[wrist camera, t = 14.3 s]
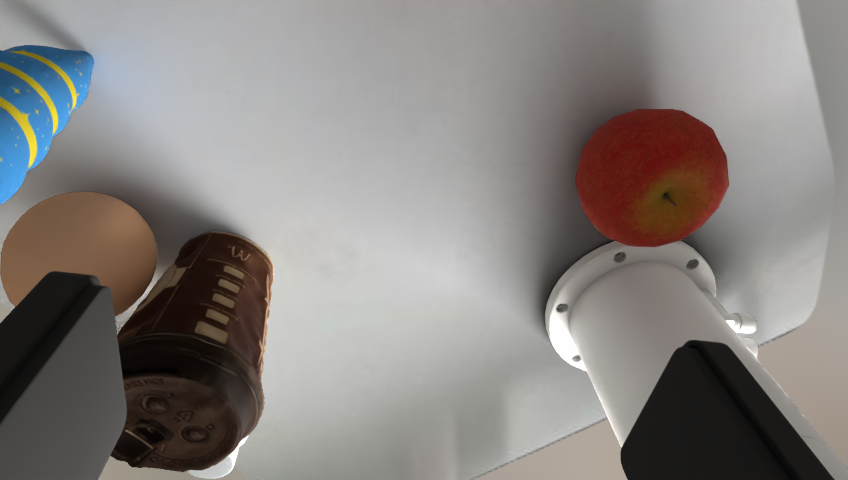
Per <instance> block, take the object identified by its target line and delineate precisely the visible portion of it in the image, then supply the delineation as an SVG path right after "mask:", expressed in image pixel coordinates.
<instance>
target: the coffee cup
mask: <svg viewBox="0 0 848 480" xmlns="http://www.w3.org/2000/svg"><path fill="white" fill-rule="evenodd" d="M273 277H274V266H273V264H272V261H271V259H270V258H269V256H268V255H267V253H265V252H264V251H263V250H262V249H261V248H259V247H258V246H257V245H255V244H254V243H253V242H251V241H249V240H248V239H246V238H244V237H241V236H239V235H236V234H231V233H227V232H217V231H212V232H208V233H205V234H202V235H199V236H197V237H195V238H193V239H191V240H189V241H188V242H187V243H186V244H185V245H184V246H183V247H182V248H181V250H180V252H179V255H178V257H177V259H176V260H175V263H174V264H173V265H171V266H170V267H169V268H168V269H167V270H166V271H165V273H164V274H163V275H162V277H161V278H160V279H159V280H158V281H157V283H156V284H155V286H154V287H153V288H152V290H151V291H150V292H149V294H148V295H147V297H146V298H145V299H144V300H143V301H142V302H141V303H140V304H139V305H138V307H137V309H136V310H135V312H134V313H133V314H132V316H131V317H130V319H129V320H128V321H127V322H126V323H125V325H124V326H123V327H122V328H121V330H120V332H119V334H118V336H117V338H118V346H119V353H120V361H121V368H122V376H123V384H124V391H125V399H126V407H127V414H126V421H125V425H124V428H123V430H122V433H121V435H120V437H119V439H118V441H117V443H116V445H115V447H114V449H113V451H112V453H111V455H110V456H112V457H114V458H115V459H117V460H120V461H125V462H128V464H129V465H130V466H131V467H138V468H142V467H148V468H160V469H165V470H172V471H181V472H184V471H189V470H195V471H197V470H199V471H202V470H205V469H208V468H210V467H211V466H215V465H217V464H218V463H219V462H221V461H223V460H224V459H225V458H226V457H227V456H229V455H230V454H231V453H232V452H233V451H234V450H235V449H236V448H237V446H238V445H239V443H240V442H241V441H242V440H243V439H244V438H246V437H247V436H248V435H249V434H250V433H251V432H252V431H253V430H254V428H255V427H256V426H257V424H258V421H259V419H260V417H261V415H262V412H263V409H264V395H263V389H262V384H261V379H262V371H263V358H264V352H265V343H266V335H267V321H268V318H269V312H270V300H271V295H272V289H271V285H272V283H273Z"/></svg>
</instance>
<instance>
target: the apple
mask: <svg viewBox="0 0 848 480" xmlns="http://www.w3.org/2000/svg"><path fill="white" fill-rule="evenodd" d="M575 179H576V188H577V191H578V195H579V198H580V202H581V205H582V209H583V211H584V212H585V214H586V216H587V218H588V219H589V220H590V221H591V222H592V224H593V225H594V226H595V227H596V229H597V230H598V231H599V232H600V233H601V234H602V235H604V236H606V237H607V238H610V239H612V240H615V241H617V242H620V243H622V244H625V245H627V246H633V247H659V246H662V245H666V244H670V243H674V242H677V241H680V240H682V239H683V238H685V237H686V236H688V235H689V234H691V233H692V232H694V231H695V230H697V229H698V228H700V227H701V226H702V225H703V224H704V223H705V222H706V221H707V219H708V218H709V217H710V216H711V215H712V214H713V213H714V212H715V211H716V210H717V209H718V208H719V205H720V203H721V201H722V199H723V197H724V195H725V192H726V190H727V188H728V186H729V180H728V167H727V158H726V154H725V152H724V151H723V149H722V147H721V145H720V143H719V141H718V139H717V137H716V135H715V133H714V131H713V129H712V128H711V127H709V126H708V125H706V124H705V123H703V122H702V121H700V120H698V119H696V118H695V117H693V116H691V115H689V114H687V113H686V112H684V111H680V110H674V109H637V110H634V111H630V112H627V113H624V114H621V115H618V116H616V117H614V118H612V119H610V120H609V121H608V122H606V123H605V124H604V125H602V126H601V127H600V128H598V129H597V130H596V131H595V132H594V134H593V135H592V137H591V138H590V139H589V141H588V142H587V144H586V145H585V147H584V148H583V150H582V153H581V157H580V161H579V165H578V169H577V173H576V178H575Z"/></svg>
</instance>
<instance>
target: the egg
mask: <svg viewBox="0 0 848 480" xmlns="http://www.w3.org/2000/svg"><path fill="white" fill-rule="evenodd" d="M156 264H157V246H156V241H155V238H154V235H153V233H152V231H151V228H150V227H149V225H148V224H147V223H146V221H145V220H144V219H143V217H142V216H141V215H140V214H139V213H138V212H137V211H136V210H135V209H134V208H132V207H131V206H129V205H128V204H126V203H125V202H123V201H121V200H119V199H116V198H114V197H112V196H108V195H104V194H100V193H96V192H68V193H64V194H60V195H56V196H53V197H50V198H48V199H45V200H43V201H41V202H39V203H38V204H36V205H35V206H33V207H32V208H30V209H29V210H28V211H27V212H26V213H24V214H23V215H22V216H21V217H20V219H19V220H18V221H17V222H16V223H15V225H14V226H13V227H12V229H11V230H10V231H9V233H8V235H7V237H6V239H5V241H4V243H3V247H2V251H1V266H0V275H1V279H2V284H3V288H4V290H5V292H6V294H7V296H8V298H9V300H10V302H11V303H12V304H13V305H14V306H15V307H16V306H17V305H18V304H19V303H20V302H21V301H22V300H23V299H24V298H25V296H26V295H27V294H28V293H29V292H30V291H31V290H32V289H33V288H34V287H35V286H36V285H37V284H38V283H39V282H40V280H41V279H42V278H43V277H44V276H45V275H47V274H48V273H49V272H52V271H60V272H69V273H78V274H87V275H94V276H96V277H97V278H98V280H99V282H100V286H107V287H109V288H110V290H111V293H112V300H113V308H114V315H115V316H117V315H119V314H121V313H123V312H125V311H126V310H127V309H128V308H129V307H130V306H132V305H133V304H134V303H135V302H136V301H137V300H138V299H139V298H140V297H141V296H142V295H143V293H144V292H145V290H146V289H147V287H148V286H149V284H150V282H151V281H152V278H153V275H154V273H155V270H156Z"/></svg>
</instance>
